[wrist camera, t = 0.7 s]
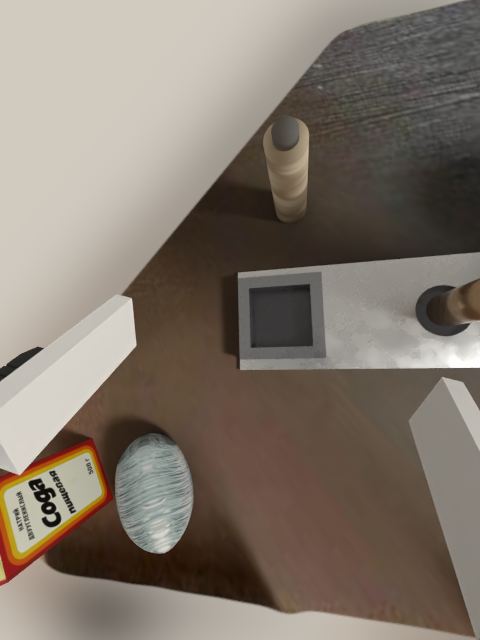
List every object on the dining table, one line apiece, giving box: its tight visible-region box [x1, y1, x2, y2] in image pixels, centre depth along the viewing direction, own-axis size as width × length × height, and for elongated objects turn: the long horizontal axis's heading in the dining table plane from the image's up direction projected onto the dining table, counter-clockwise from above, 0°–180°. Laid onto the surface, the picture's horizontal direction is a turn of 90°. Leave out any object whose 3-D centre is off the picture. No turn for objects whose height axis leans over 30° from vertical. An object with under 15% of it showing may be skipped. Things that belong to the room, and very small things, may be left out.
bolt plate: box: [238, 252, 480, 370], centre depth 31 cm, size 32×14×14 cm, turn 92°
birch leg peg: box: [263, 116, 309, 224], centre depth 34 cm, size 4×4×15 cm
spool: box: [115, 433, 193, 553], centre depth 37 cm, size 14×10×10 cm
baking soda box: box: [0, 438, 113, 586], centre depth 36 cm, size 10×6×16 cm
